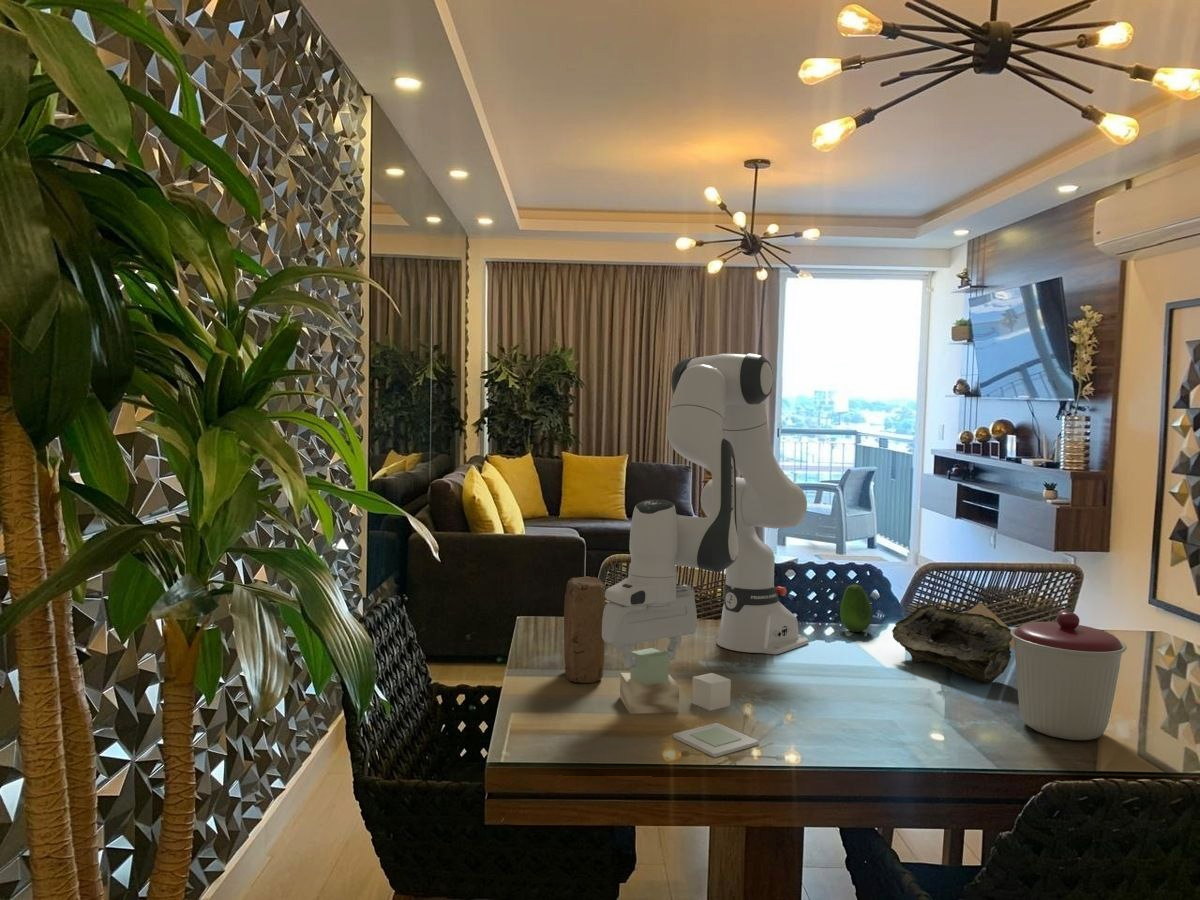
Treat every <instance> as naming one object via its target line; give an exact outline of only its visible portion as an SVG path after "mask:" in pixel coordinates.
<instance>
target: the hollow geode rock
mask: <svg viewBox="0 0 1200 900" xmlns="http://www.w3.org/2000/svg"><path fill="white" fill-rule="evenodd" d="M1008 627H1009V626H1008ZM1008 627H1005V626H1001V625H1000V624H999V623H997V621H996V620H995V619H993V618H990V617H986V616H984V615H981V614H970V613H967V612H957V611H953V610H951V609H947V608H939V606H938V605H936V604H929V605H923V606H921V607H920V606H919V607H917V609H916V610H915V611H913V612H912V613H910V614H909V615H908V616H907V617H905V618H904V619H900V620H899V621H897V622H895V626H894V627H893V629H892V630H891V633H892V638H893V639H894V641H896V643H898V644H899V645H900V646H902V647H903V648H904V651H906V652H908V653H909V655H910V656H911V661H912V662H913V663H921V662H924V661H930V662H933V663H936V664H940V665H942V666H947V667H949V668H950V669H951V670H952V671H954V672H955V673H957V674H960V675H964V676H966V677H968V678H972V679H973V680H975V681H979V682H981V683H983V684H984V683H985V684H987V685H989V684H992V683H993V682H994V681H995V680H996V679H997V678H998V677H999V676H1000V675H1001V674H1004V672H1005V670H1006V669H1007V667H1008V666H1009V662H1010V660H1011V657H1012V655H1011V654H1012V651H1011V650H1010V647H1011V646H1009V645H1010V644H1009V642H1010V641H1011V640H1012V636H1011V634H1010V631H1011V630H1012V629H1011V628H1010V629H1011V630H1010V629H1008Z"/></svg>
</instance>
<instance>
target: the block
mask: <svg viewBox="0 0 1200 900" xmlns="http://www.w3.org/2000/svg"><path fill="white" fill-rule="evenodd" d="M563 605H564V607H563V609H564V610H563V611H564V612H563V652H564V653H563V655H564V665H565V667H564V673H565V677H566V678H567V679H568V681H570V682H574V683H581V684H589V683H590V684H591V683H595V682H598V681H600V680H602V678H603V677H604V669H605V668H604V666H605V653H606V652H605V651H606V647H605V646H606V645H605V644H606V643H605V642H604V640H603V639H602V619H603V611H604V608H605V606H606V598H605V584H604V583H603V582H602V580H601V579H600V578H597V577H595V576H579V577H571V578H570V579H569V580H568V581H567V584H566V589H565V595H564V604H563Z"/></svg>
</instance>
